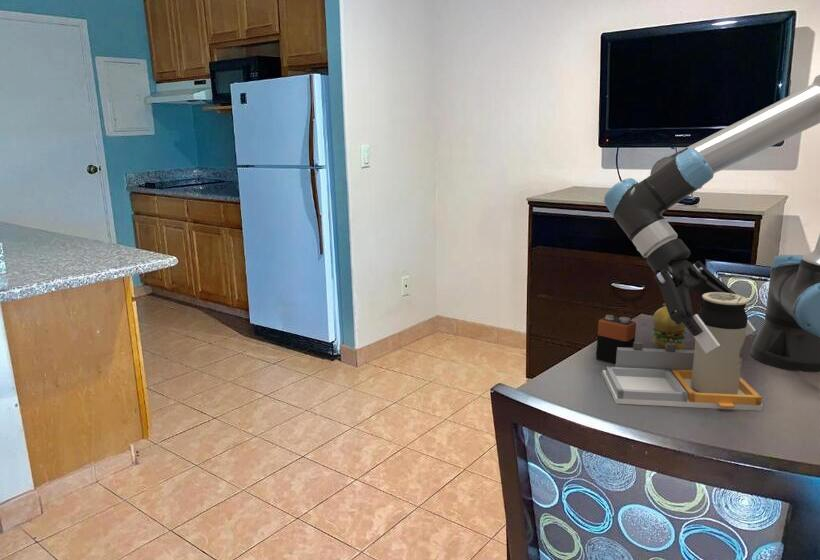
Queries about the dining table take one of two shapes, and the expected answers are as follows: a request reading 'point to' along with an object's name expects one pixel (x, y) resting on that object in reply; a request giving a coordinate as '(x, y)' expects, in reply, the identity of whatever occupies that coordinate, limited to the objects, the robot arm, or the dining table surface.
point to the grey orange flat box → (668, 381)
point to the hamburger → (667, 330)
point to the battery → (614, 337)
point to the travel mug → (721, 344)
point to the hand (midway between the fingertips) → (731, 341)
